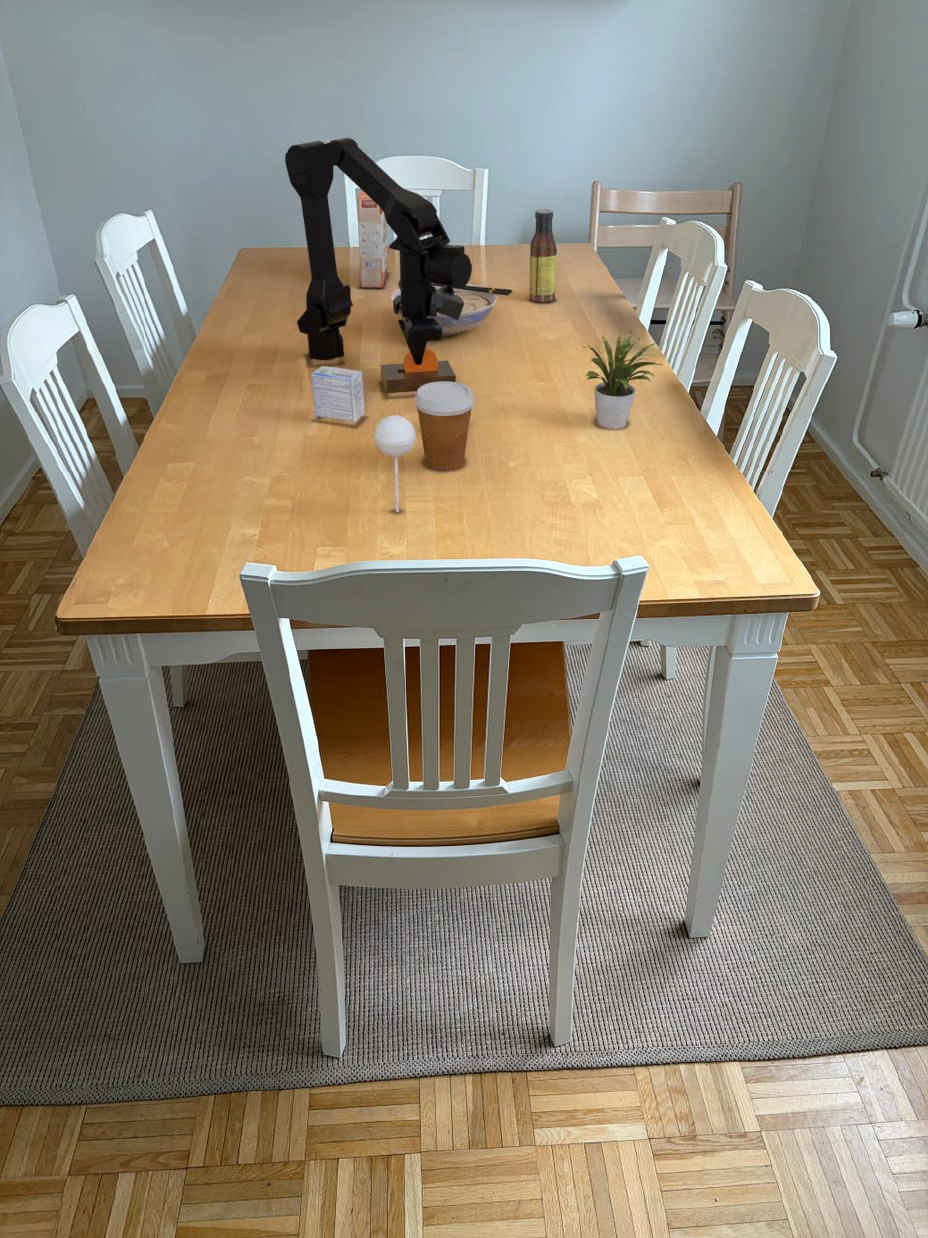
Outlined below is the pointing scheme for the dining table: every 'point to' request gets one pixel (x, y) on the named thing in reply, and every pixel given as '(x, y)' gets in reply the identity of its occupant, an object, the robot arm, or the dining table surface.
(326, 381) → the medicine box
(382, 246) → the cracker box
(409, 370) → the token
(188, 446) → the dining table surface
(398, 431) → the lollipop
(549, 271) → the sauce bottle
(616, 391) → the house plant
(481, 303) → the ramen bowl
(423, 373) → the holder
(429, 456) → the disposable coffee cup
